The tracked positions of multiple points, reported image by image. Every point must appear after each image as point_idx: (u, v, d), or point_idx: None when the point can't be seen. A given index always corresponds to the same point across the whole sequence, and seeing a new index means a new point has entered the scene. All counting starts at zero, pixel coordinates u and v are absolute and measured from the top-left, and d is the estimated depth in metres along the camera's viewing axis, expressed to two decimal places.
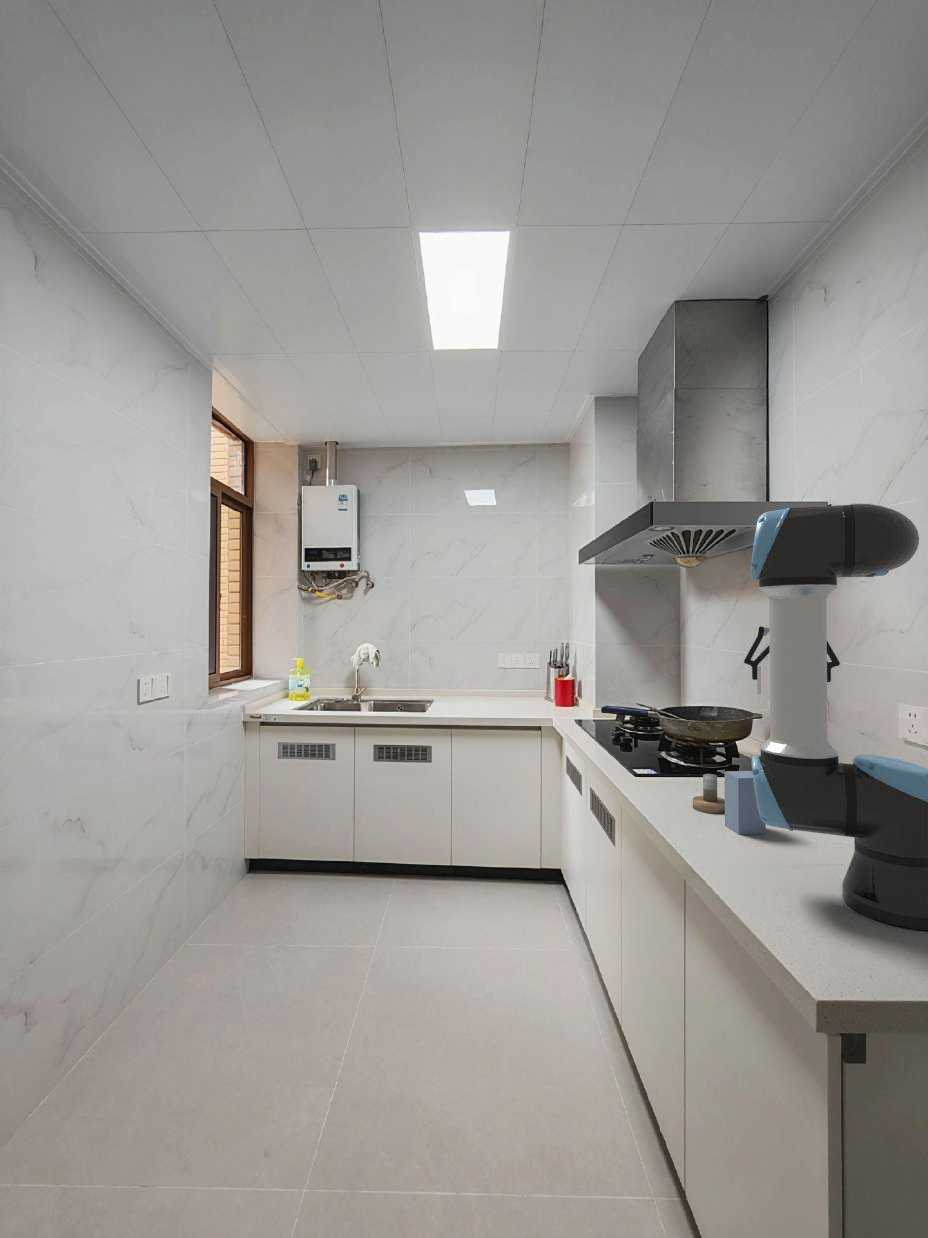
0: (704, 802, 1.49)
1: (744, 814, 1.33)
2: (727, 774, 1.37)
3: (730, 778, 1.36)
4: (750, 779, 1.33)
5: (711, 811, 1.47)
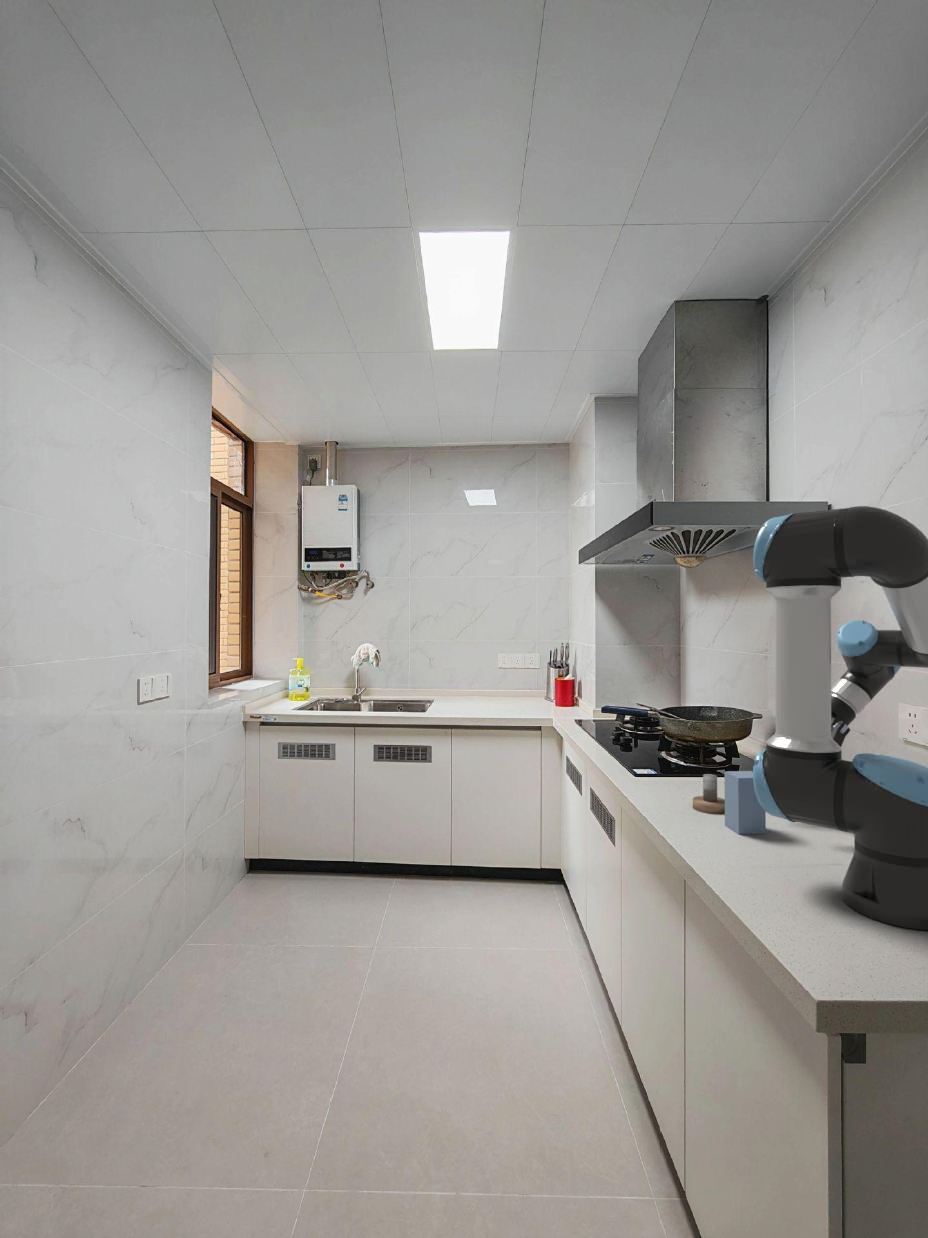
0: (704, 802, 1.49)
1: (744, 814, 1.33)
2: (727, 774, 1.37)
3: (730, 778, 1.36)
4: (750, 779, 1.33)
5: (711, 811, 1.47)
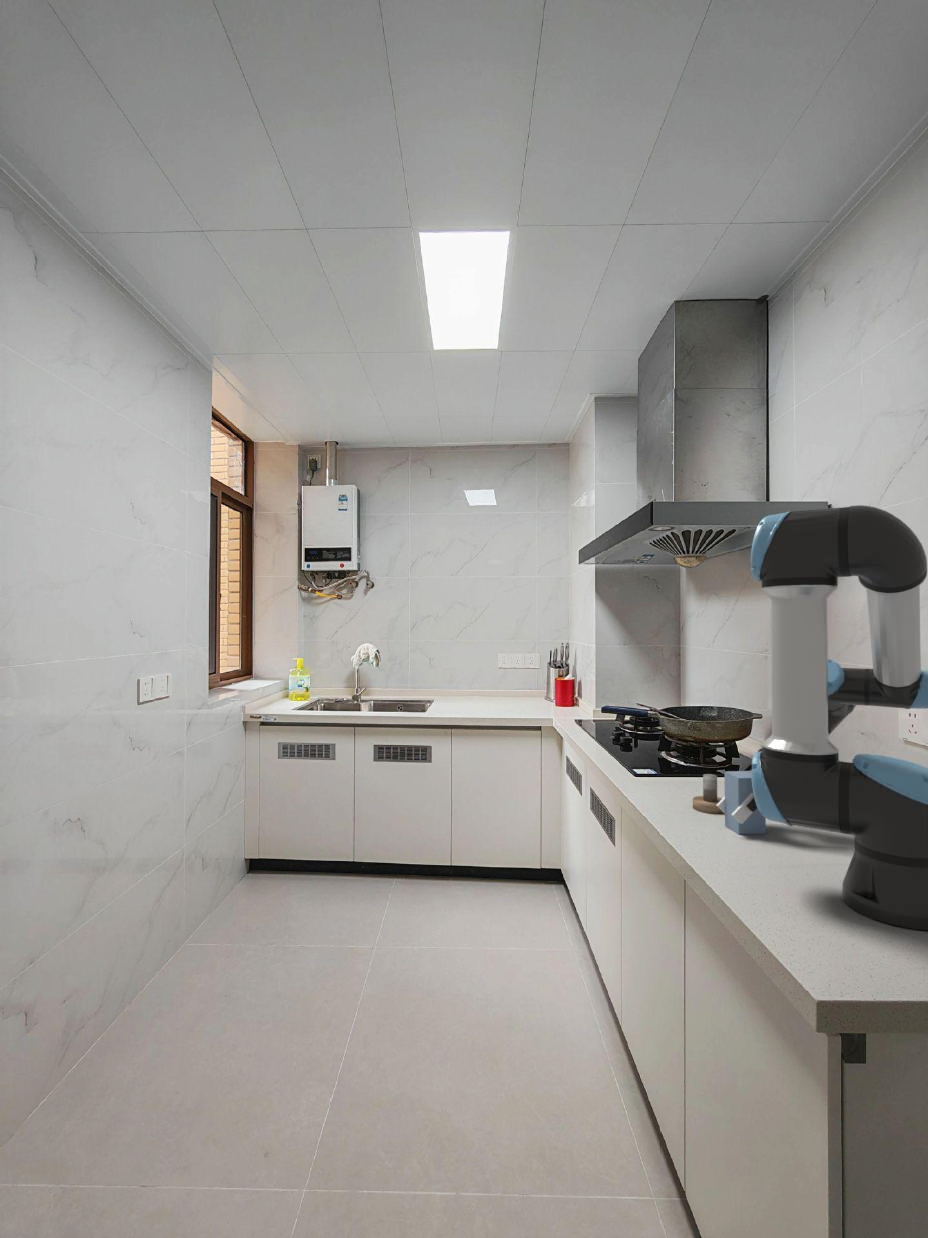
0: (704, 802, 1.49)
1: None
2: (727, 774, 1.37)
3: (730, 778, 1.36)
4: (750, 779, 1.33)
5: (711, 811, 1.47)
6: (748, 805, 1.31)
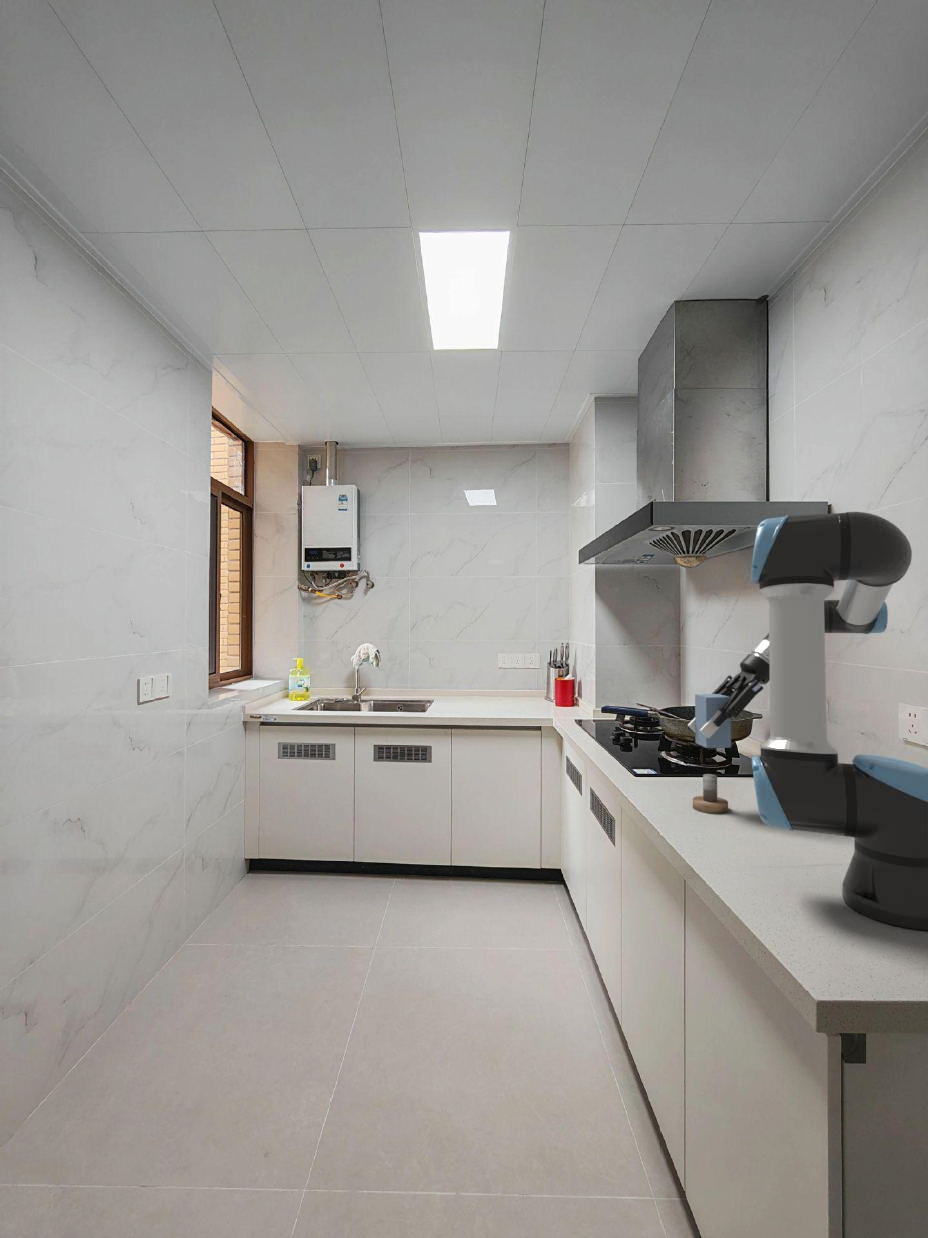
0: (704, 802, 1.49)
1: None
2: (697, 696, 1.52)
3: (699, 699, 1.51)
4: (717, 698, 1.47)
5: (711, 811, 1.47)
6: (714, 721, 1.46)
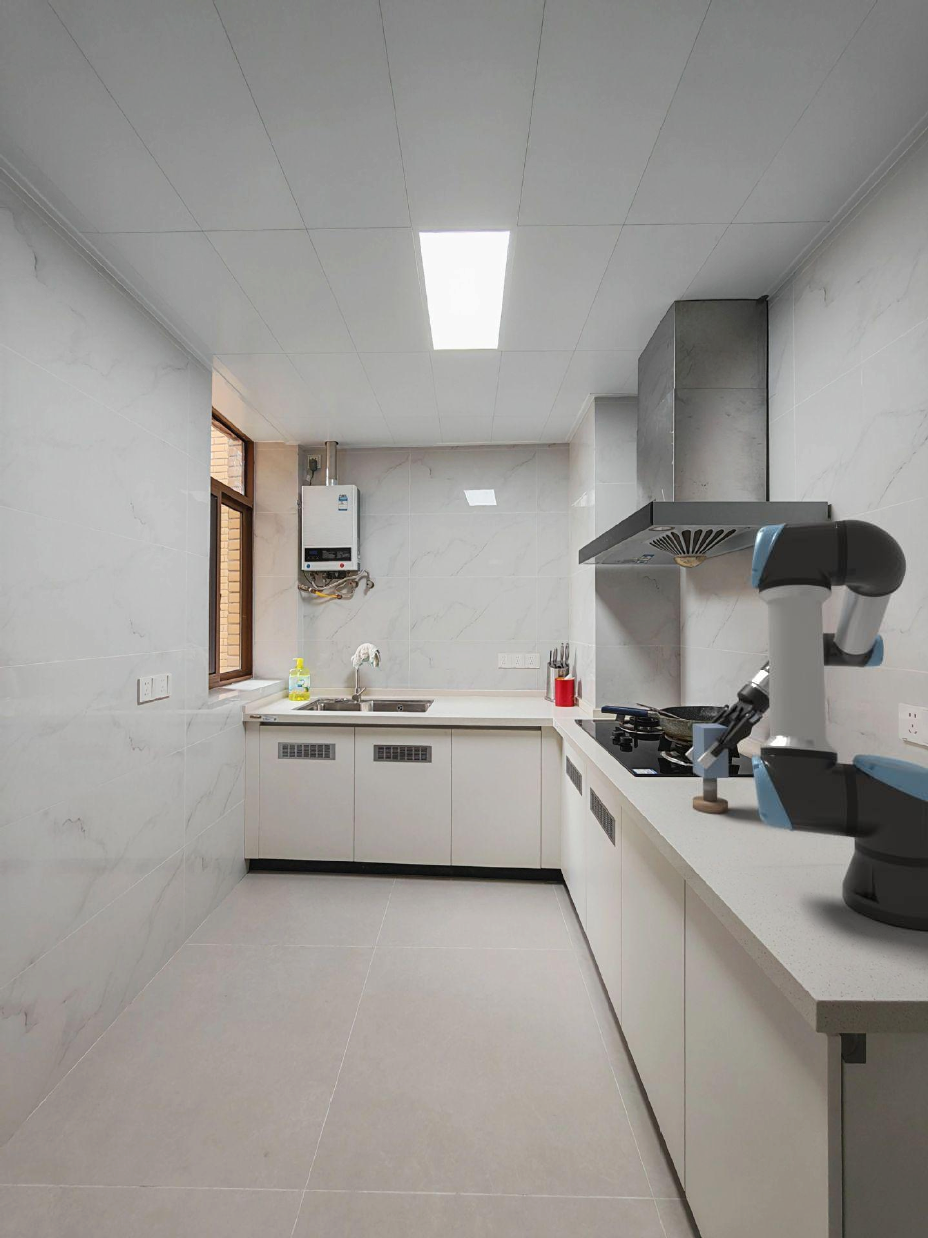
0: (704, 802, 1.49)
1: None
2: (695, 726, 1.53)
3: (697, 729, 1.52)
4: (714, 729, 1.48)
5: (711, 811, 1.47)
6: (712, 752, 1.47)
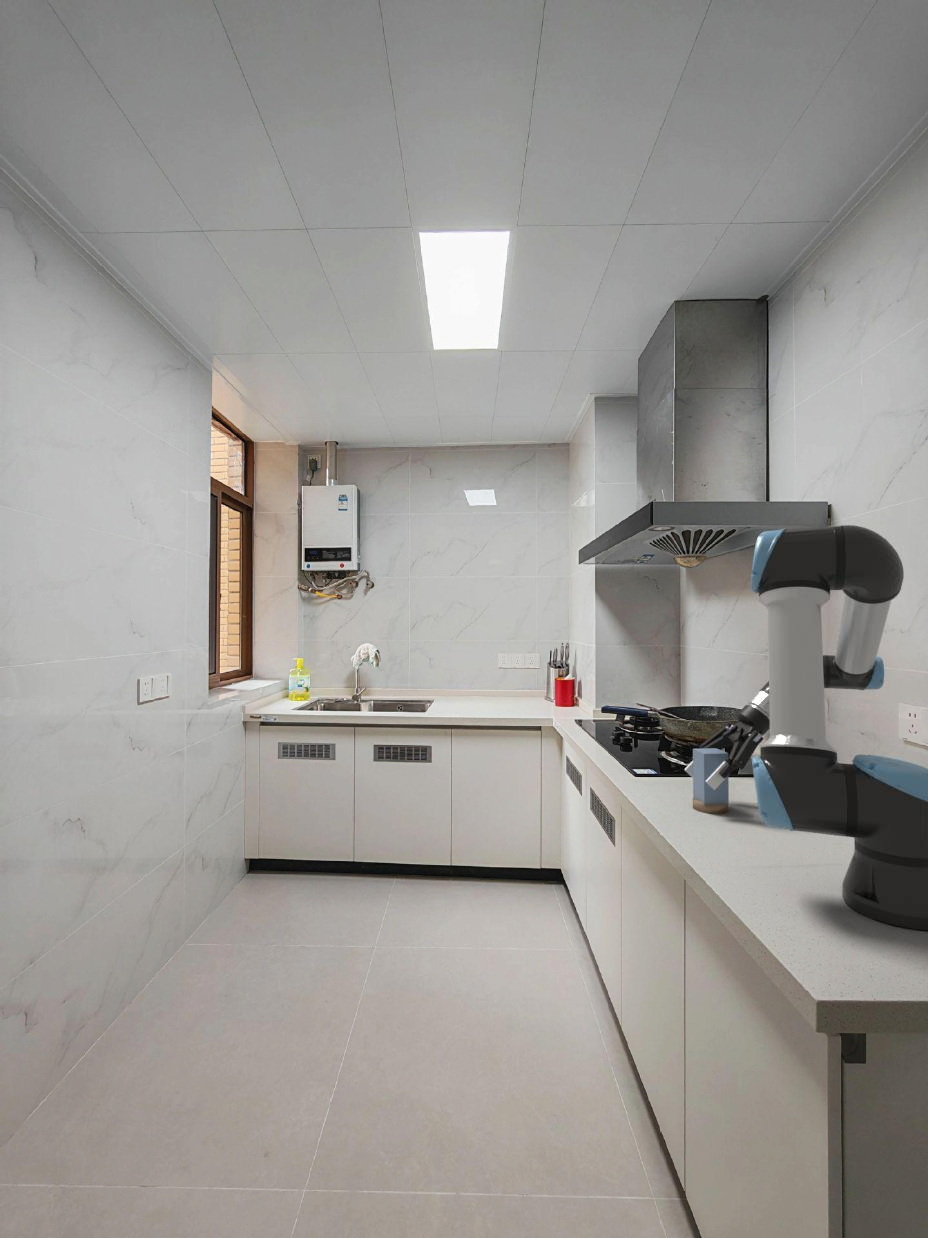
0: None
1: (709, 786, 1.48)
2: (695, 751, 1.52)
3: (697, 754, 1.51)
4: (714, 755, 1.48)
5: (711, 811, 1.47)
6: (720, 772, 1.44)
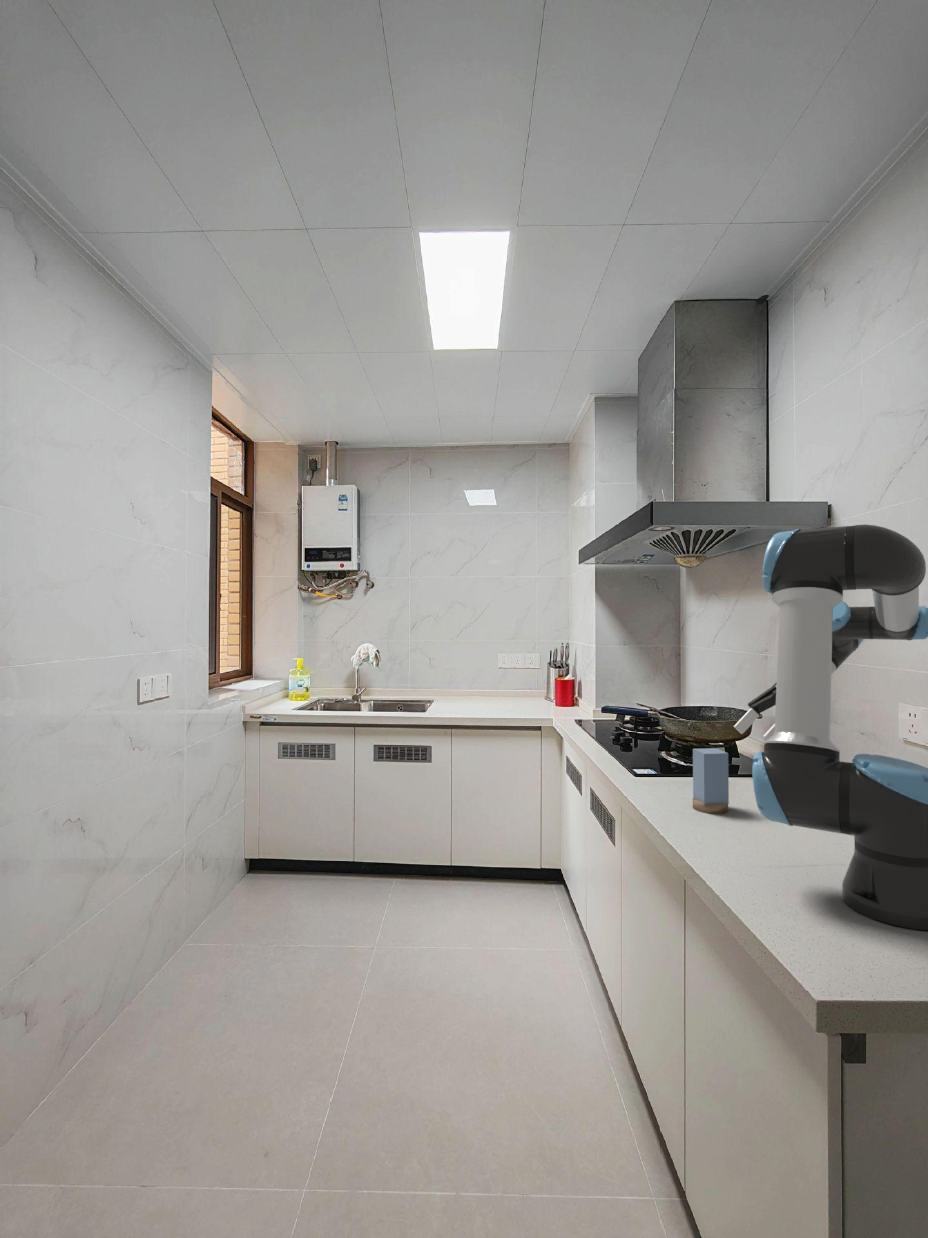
0: None
1: (709, 786, 1.48)
2: (695, 751, 1.52)
3: (697, 754, 1.51)
4: (714, 755, 1.48)
5: (711, 811, 1.47)
6: None
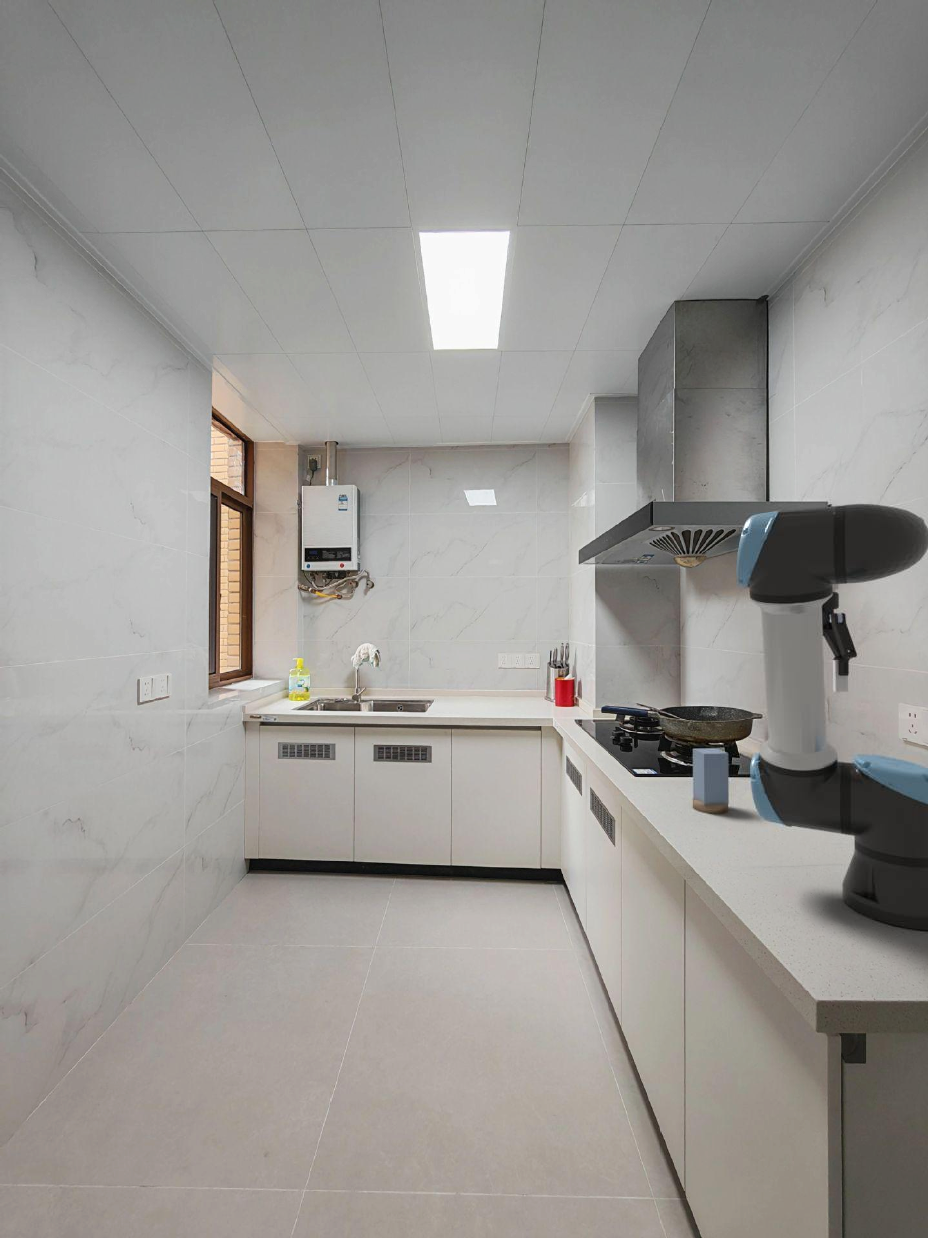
0: None
1: (709, 786, 1.48)
2: (695, 751, 1.52)
3: (697, 754, 1.51)
4: (714, 755, 1.48)
5: (711, 811, 1.47)
6: (840, 673, 1.29)
